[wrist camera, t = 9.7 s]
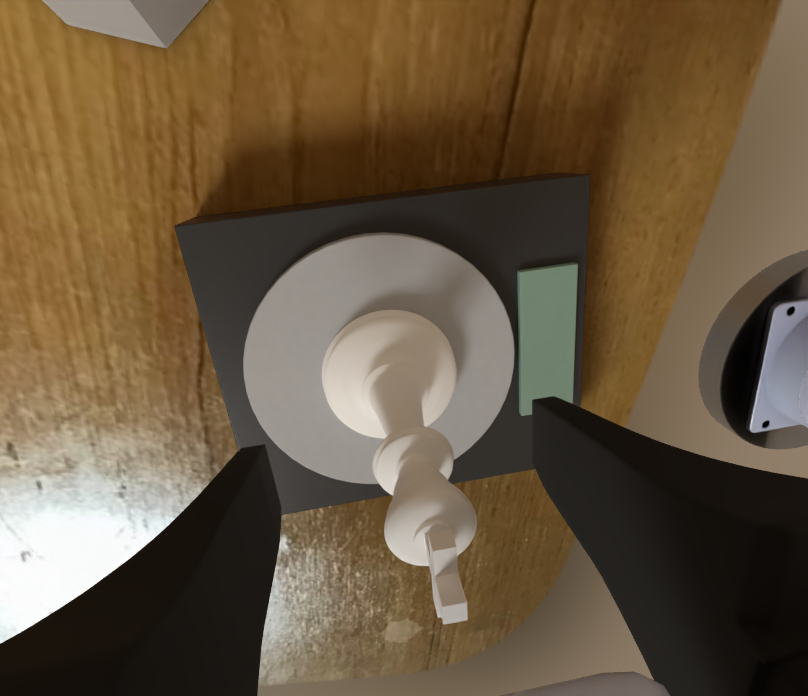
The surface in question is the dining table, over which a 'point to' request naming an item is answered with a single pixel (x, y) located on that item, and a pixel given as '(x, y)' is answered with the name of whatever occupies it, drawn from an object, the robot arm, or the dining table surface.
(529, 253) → the scale
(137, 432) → the dining table surface
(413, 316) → the chess piece
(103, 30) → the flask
